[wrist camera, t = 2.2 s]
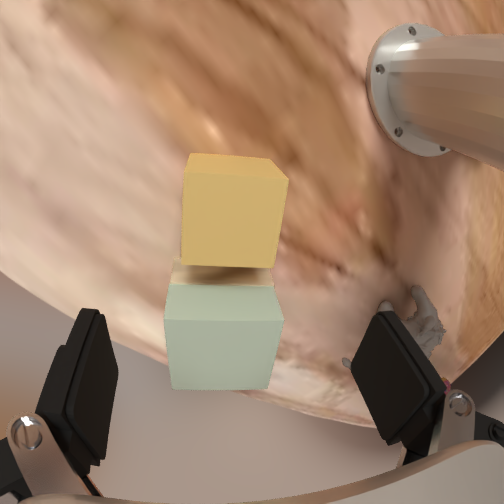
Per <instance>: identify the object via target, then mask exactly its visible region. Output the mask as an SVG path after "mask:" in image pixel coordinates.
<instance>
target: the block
mask: <svg viewBox="0 0 504 504" xmlns="http://www.w3.org/2000/svg"><path fill="white" fill-rule="evenodd" d="M288 183H289V179H288V178H287V177H286V176H285V175H284V174H283V173H282V172H281V170H280V169H279V168H278V167H277V166H276V165H275V164H274V163H273V162H272V161H271V160H270V159H263V158H253V157H242V156H230V155H216V154H199V153H190V156H189V159H188V162H187V165H186V168H185V170H184V182H183V204H182V239H181V265H201V266H226V267H253V268H274V262H275V257H276V252H277V246H278V240H279V235H280V229H281V223H282V218H283V212H284V206H285V200H286V194H287V189H288Z"/></svg>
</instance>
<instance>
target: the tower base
mask: <svg viewBox="0 0 504 504" xmlns="http://www.w3.org/2000/svg"><path fill="white" fill-rule="evenodd" d="M170 284H184V285H219V286H273V287H274V286H275V285H274V282H273V279H272V276H271V273H270V270H269V268H253V267H226V266H201V265H181V258H175V257H174V263H173V269H172V274H171V280H170Z"/></svg>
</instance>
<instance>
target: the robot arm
mask: <svg viewBox="0 0 504 504" xmlns="http://www.w3.org/2000/svg"><path fill="white" fill-rule="evenodd" d="M376 68H377V69H378V71H377V72H376ZM366 87H367V93H368V99H369V102H370V105H371V108H372V112H373V114H374V116H375V118H376V120H377V122H378V124H379V125H380V127H381V128H382V130H383V131H384V132H385V134H386V135H387V136H388V137H389V138H390V139H391V140H392V141H393V142H394V143H395V144H396V145H398V146H399V147H401V148H402V149H404V150H406V151H408V152H410V153H413V154H416V155H419V156H422V157H435V156H440V155H443V154H445V153H447V152H449V151H451V150H454V151H456V152H459V153H461V154H464V155H466V156H469V157H471V158H474V159H476V160H479V161H481V162H483V163H486V164H488V165H490V166H492V167H495V168H497V169H499V170H501V171H503V172H504V34H465V35H449V36H445V35H444V34H442V33H441V32H439V31H438V30H436V29H434V28H432V27H430V26H428V25H424V24H419V23H405V24H401V25H397V26H395V27H392V28H390V29H388V30H387V31H386V32H384V33H383V34H382V35H381V36H380V37H379V38H378V40H377V41H376V42H375V44H374V45H373V47H372V50H371V52H370V55H369V57H368V63H367V68H366ZM395 129H396V132H394V131H395ZM350 369H351V373H352V375H353V377H354V379H355V381H356V383H357V385H358V388H359V390H360V392H361V394H362V396H363V398H364V400H365V403H366V405H367V407H368V409H369V411H370V414H371V416H372V418H373V420H374V422H375V425H376V427H377V429H378V431H379V433H380V436H381V437H382V439H383V440H386V443H387V445H388V446H389V445H392V444H395V443H398V442H400V441H402V443H403V447H402V450H401V453H400V457H399V460H398V463H397V466H396V469H394V470H391V471H388V472H386V473H383V474H380V475H377V476H374V477H371V478H367V479H364V480H361V481H357V482H354V483H350V484H347V485H343V486H339V487H335V488H331V489H327V490H323V491H318V492H313V493H309V494H304V495H298V496H292V497H286V498H280V499H272V500H264V501H254V502H243V503H230V504H504V424H503V423H502V422H500V421H498V420H496V419H493V418H491V417H488V416H486V415H483V414H481V413H479V412H476V411H475V405H474V402H473V400H472V399H471V397H470V396H469V395H468V394H467V393H465V392H463V391H461V390H452V391H449V392H448V393H447V395H446V394H445V393H444V392H445V390H446V389H447V387H446V385H445V384H444V382H443V380H442V379H441V377H440V376H439V374H438V373H437V371H436V370H435V368H434V367H433V366H432V364H431V363H430V361H429V360H428V358H427V357H426V355H425V354H424V352H423V351H422V350H421V348H420V347H419V345H418V344H417V342H416V341H415V340H414V338H413V337H412V335H411V334H410V333H409V331H408V330H407V329H406V327H405V326H404V324H403V323H402V322H401V320H400V319H399V318H398V316H397V315H396V314H395V312H394V311H391V310H390V311H379V312H377V313H376V315H375V316H373V318H372V319H371V322H370V324H369V326H368V329H367V331H366V333H365V335H364V337H363V340H362V342H361V344H360V346H359V348H358V350H357V352H356V354H355V356H354V358H353V360H352V363H351V366H350ZM117 380H118V366H117V363H116V359H115V356H114V352H113V348H112V344H111V340H110V336H109V332H108V328H107V323H106V319H105V316H104V314H100V312H99V310H97V309H87V308H82V309H81V310H80V312H79V314H78V316H77V319H76V321H75V323H74V326H73V328H72V331H71V333H70V335H69V337H68V340H67V343H66V345H61V346H60V347H59V348H58V350H57V352H56V355H55V357H54V360H53V362H52V365H51V368H50V370H49V373H48V375H47V378H46V381H45V384H44V387H43V389H42V392H41V395H40V398H39V402H38V404H37V407H36V411H35V413H32V412H23V413H19V414H18V415H16V416H15V417H13V418H12V420H11V421H10V422H9V424H8V427H7V437H6V438H4V439H2V440H0V504H167V503H150V502H140V501H130V500H122V499H114V498H106V497H104V496H103V495H102V493H101V492H100V491H99V490H98V488H97V487H96V485H95V484H94V483H93V481H92V480H91V478H90V477H89V475H88V474H89V473H90V465H94V466H100V459H101V460H104V459H105V457H106V449H107V441H108V434H109V427H110V420H111V414H112V408H113V402H114V396H115V391H116V386H117Z"/></svg>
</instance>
